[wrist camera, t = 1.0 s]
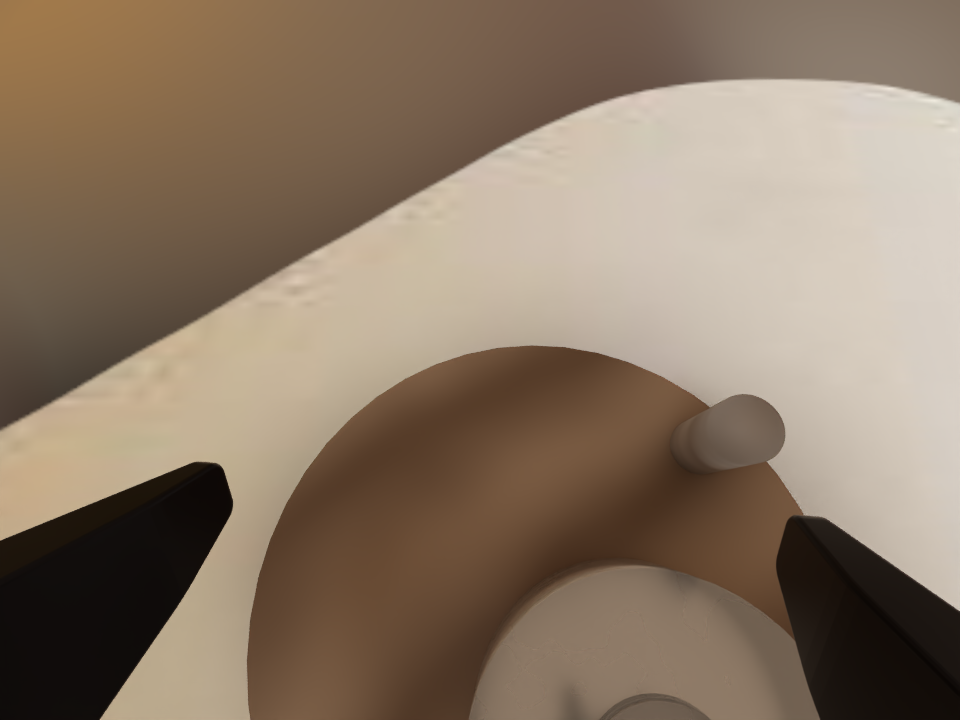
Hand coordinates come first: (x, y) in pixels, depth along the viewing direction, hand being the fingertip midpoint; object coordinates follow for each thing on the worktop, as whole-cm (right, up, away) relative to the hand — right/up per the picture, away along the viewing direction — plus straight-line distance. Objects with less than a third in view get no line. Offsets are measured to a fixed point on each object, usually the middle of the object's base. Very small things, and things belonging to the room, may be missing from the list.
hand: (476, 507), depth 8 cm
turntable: (+2, -7, +11) cm, 13 cm away
